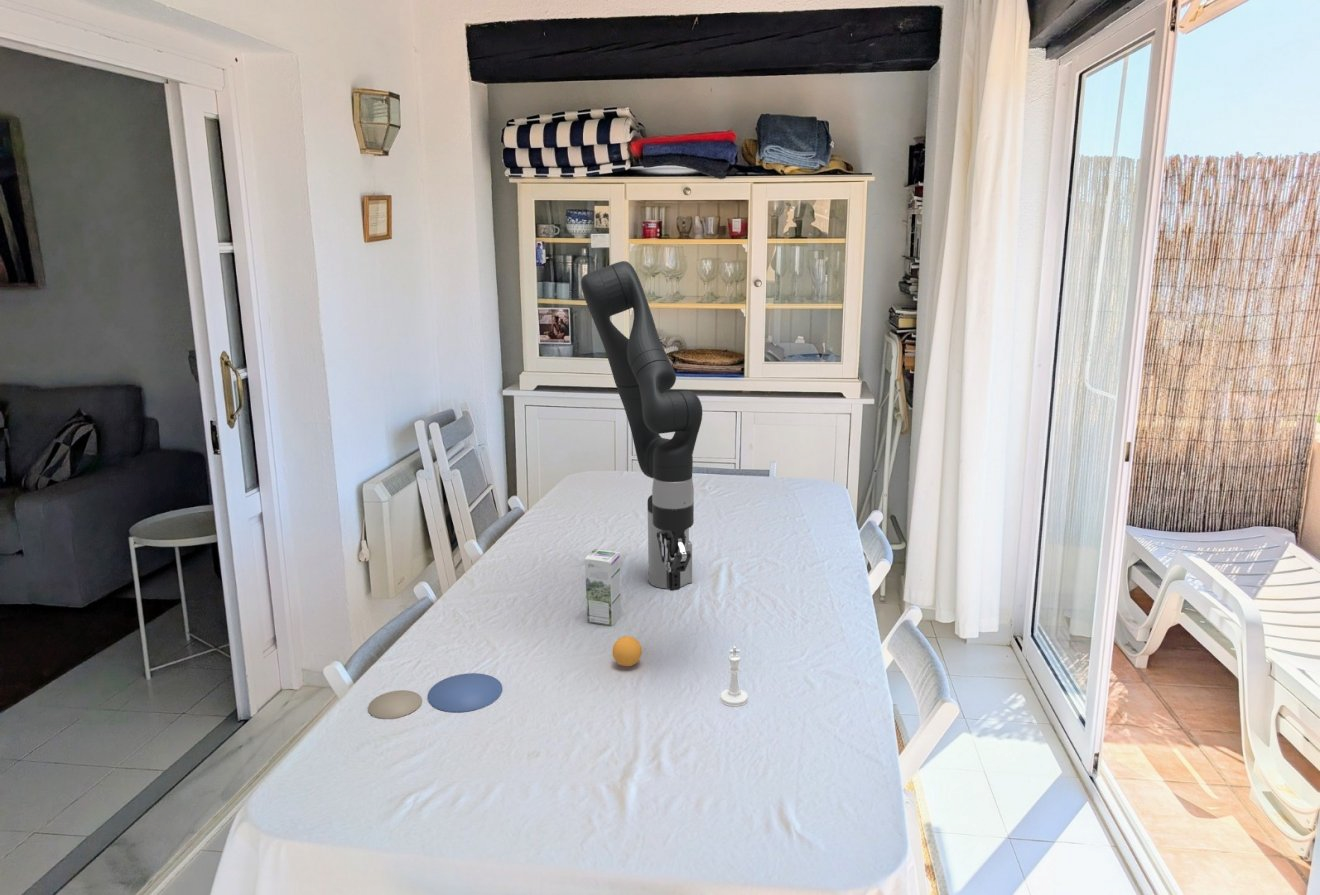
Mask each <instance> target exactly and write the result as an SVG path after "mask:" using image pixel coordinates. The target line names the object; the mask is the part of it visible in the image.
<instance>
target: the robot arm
mask: <svg viewBox="0 0 1320 895" xmlns="http://www.w3.org/2000/svg"><path fill="white" fill-rule="evenodd" d="M580 285H581V292H582V293H583V294H582V295H583V298H584V300H585V303H586V306H587V308H588V310H589V313H590V316H591V318H592V320H593V322H594V325H595V328H596V331H597V332H598V335H599V337H600V339H601V343H602V345H603V348H604V351H605V354H606V357H607V359H608V364H609V367H610V370H611V373H612V377H613V381H614V384H615V386H616V389H617V392H618V395H619V398H620V400H621V404H622V406H623V408H624V411H625V414H626V415H625V416H626V419H627V421H628V424H629V427H630V432H631V436H632V441H633V446H634V450H635V455H636V458H637V462H638V465H639V468H640V470H641V472H642V473H643V475H644V476H646V477H647V478H650V479H652V489H651V491H652V492H651V495H649V497H648V498H647V504H646V505H647V552H648V553H647V554H648V555H647V556H648V557H647V560H648V563H647V564H648V572H647V573H648V582H649V584H650V585H652V586H654V587H656V588H660V589H668V590H669V592H671V591H672V592H673V591H679V590H680V589H681V588H682V587H684V586H686V585H688V584H691V583H693V543H692V542H691V541H690V528H692V526H693V525H694V520H695V518H694V516H695V514H694V509H695V508H694V505H695V504H694V503H695V501H694V482H693V481H694V480H693V469H694V468H693V465H694V459H693V454H694V450H695V446H696V442H697V438H698V435H699V431H700V428H701V424H702V422H703V421H702V420H703V405H702V403H701V402H702V401H701V400H700V398H699V397H698V395H697V393H695V392H693V391H691V390H682V391H681V390H680V391H672V392H668V391H669V390H671V389H672V388H673V387H674V385H675V383H676V381H677V380H676V378H677V375H676V372H675V370H674V367H673V365H672V362H671V361H670V358H669V356H668V355H667V353H666V351H665V348H664V347H663V344H662V342H661V339H660V336H659V334H658V330H657V327H656V324H655V322H654V320H655V319H654V317H653V315H652V311H651V308H650V306H649V302H648V300H647V297H646V294H645V291H644V289H643V285H642V283H641V280H640V278H639V275H638V274H637V271H636V270H635V268H634V267H633V265H632V264H631V263H630V262H628V261H626V260H624V261H623V260H622V261H617V262H615V263H612V264H609V265H607V266H604V267H601V268H599V269H596V270H593V271H591V272H588V273H586V274H584V275H583V276H582V278H581V280H580ZM630 309H633V321H632V327H631V329H630V330H631V331H630V334H629V337H626V336H625V335H624V334H623V333H622V332H621V331H620V330H619V329H618V328H617V327H616V325H614V323H613V322H612V321H611V319H610V317H611V316H614V315H615V316H616V315H618V314H620V313H623V312H626V311H628V310H630ZM667 433H668V434H669V433H673V436H672V438H665V437H662V436H661V435H660V434H667Z"/></svg>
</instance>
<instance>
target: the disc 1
mask: <svg viewBox="0 0 1320 895" xmlns="http://www.w3.org/2000/svg"><path fill="white" fill-rule="evenodd" d="M422 703H423V698H422V696H421V695H420V694H419V693H417V692H415V691H412V690H407V689H405V690H403V689H401V690H392V691H389V692H388V691H387V692H384V693H382V694H380V695H378V696H376V697H375V698H373V699H372V700H371V701H370V702H369V703H368V706H367V711H368V713H369V715H371V716H372V717H374V718H377V719H381V720H382V719H383V720H393V719H395V720H396V719H399V718H400V719H401V718H403V717H404V718H405V717H406V716H408V715H411V714H412V713H414V712H416V711H417V710H419V708H420V707H421V705H422Z"/></svg>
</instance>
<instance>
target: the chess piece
mask: <svg viewBox="0 0 1320 895" xmlns="http://www.w3.org/2000/svg"><path fill="white" fill-rule="evenodd" d="M729 654H730V655H729V656H728V661H729V664H730V666H729V667H728V669H727V671H728V673H730V674H731V676H730V682H729V687H728V688H726V689H724V690H723V691H721V692H720V696H719V701H720V702H721V703H722V704H723V705H726V706H728V707H736V708H737V707H742V706H744V705H746V704H747V703H748V702H749V695H748V693H747V692H746V691H745V690H743V689H741V688H740V686H739V679H738V677H739V676H738V674H739V673H741V672H742V671H741V668H740V667H739V663H740V661H741V656H740V655H738V654H740V649H737V647H736V646H735V645H733V646H732V649H729Z"/></svg>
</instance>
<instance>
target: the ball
mask: <svg viewBox="0 0 1320 895" xmlns="http://www.w3.org/2000/svg"><path fill="white" fill-rule="evenodd" d="M642 651H643V650H642V645H641V643H640V641H638V640H637V639H636V638H635V637H633V636H630V635H625V636H622V637H619V638H618V639H617V640H616V641H615V642H614V644H613V645H612V651H611V652H612V657H613V659H614V660H615V662H616V663H617V664H618V665H620V666H622V667H630V666H635V664H636V663H637V664H638V662H639V661H640V659H641V658H642V654H643V652H642Z"/></svg>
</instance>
